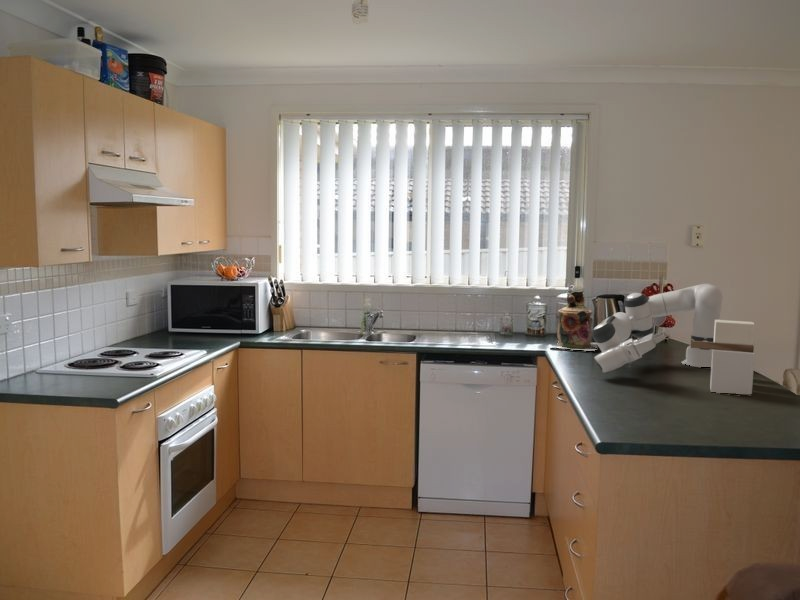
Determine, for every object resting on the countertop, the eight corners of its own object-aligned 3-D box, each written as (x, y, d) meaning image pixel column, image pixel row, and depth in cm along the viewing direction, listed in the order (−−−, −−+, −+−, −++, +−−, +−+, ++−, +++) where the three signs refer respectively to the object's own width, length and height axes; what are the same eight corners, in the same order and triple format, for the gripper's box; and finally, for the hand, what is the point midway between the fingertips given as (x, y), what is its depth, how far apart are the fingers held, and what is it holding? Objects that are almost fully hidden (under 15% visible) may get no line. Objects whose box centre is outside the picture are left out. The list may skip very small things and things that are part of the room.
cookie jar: (552, 343, 370) (555, 287, 367) (597, 346, 362) (600, 289, 359) (548, 350, 346) (551, 290, 343) (597, 353, 339) (600, 292, 336)
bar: (690, 346, 261) (690, 340, 261) (752, 351, 252) (753, 344, 252) (690, 347, 258) (691, 341, 258) (753, 352, 249) (753, 346, 249)
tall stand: (710, 380, 277) (714, 319, 274) (748, 383, 271) (752, 321, 269) (711, 384, 267) (716, 322, 265) (750, 388, 262) (754, 324, 260)
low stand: (709, 387, 262) (712, 347, 261) (749, 391, 257) (752, 350, 255) (710, 392, 253) (713, 350, 252) (751, 396, 248) (754, 353, 246)
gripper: (638, 352, 278) (669, 338, 273) (635, 360, 259) (668, 345, 254) (630, 339, 279) (661, 324, 273) (627, 346, 260) (660, 330, 254)
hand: (665, 334), depth 263 cm, fingers open, 8 cm apart
